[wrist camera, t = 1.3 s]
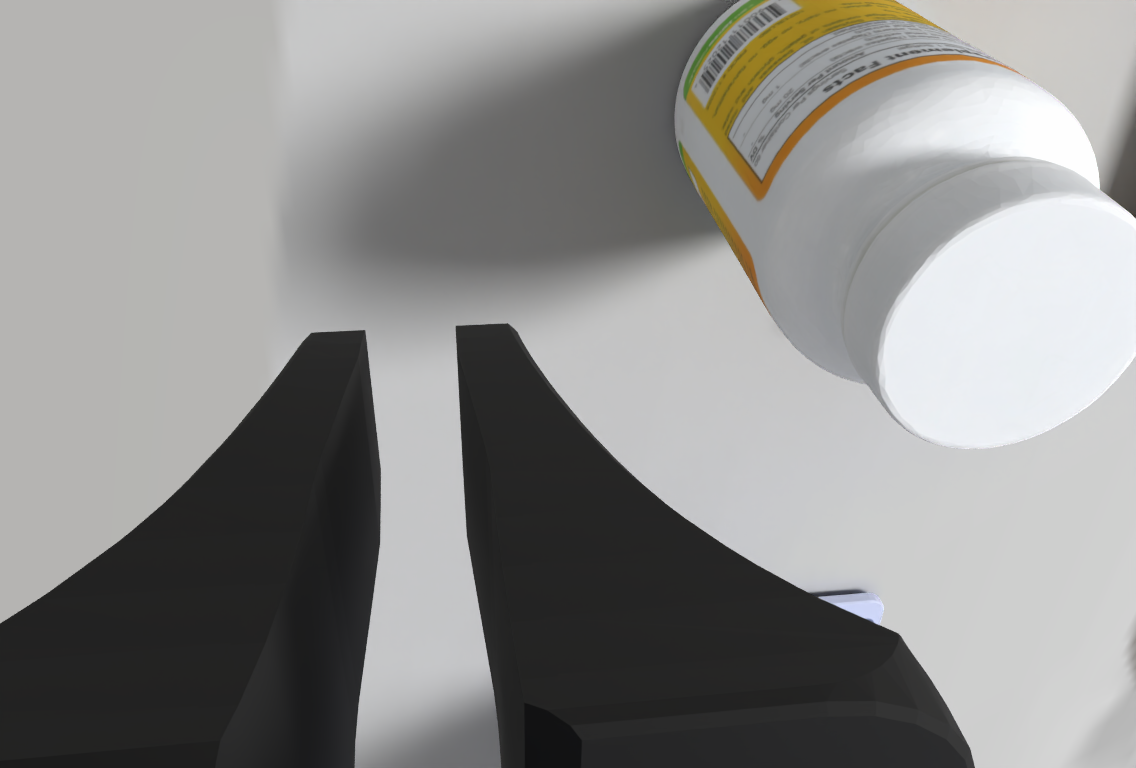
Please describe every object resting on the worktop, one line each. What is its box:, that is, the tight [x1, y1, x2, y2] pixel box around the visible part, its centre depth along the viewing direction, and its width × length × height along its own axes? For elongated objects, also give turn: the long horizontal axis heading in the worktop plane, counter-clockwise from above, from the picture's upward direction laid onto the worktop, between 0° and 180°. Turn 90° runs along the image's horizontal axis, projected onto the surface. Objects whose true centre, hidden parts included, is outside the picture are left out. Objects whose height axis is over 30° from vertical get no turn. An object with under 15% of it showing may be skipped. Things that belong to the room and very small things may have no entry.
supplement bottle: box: [674, 0, 1136, 449], centre depth 17 cm, size 5×5×10 cm
